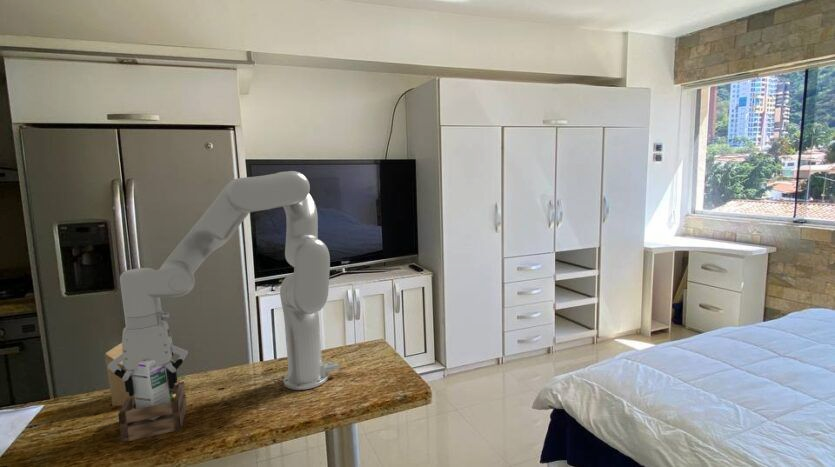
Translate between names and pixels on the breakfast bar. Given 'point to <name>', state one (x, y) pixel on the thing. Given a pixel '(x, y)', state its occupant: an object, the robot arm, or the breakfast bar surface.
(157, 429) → the crate
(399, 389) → the breakfast bar surface
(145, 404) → the syrup box
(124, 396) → the sandwich container
